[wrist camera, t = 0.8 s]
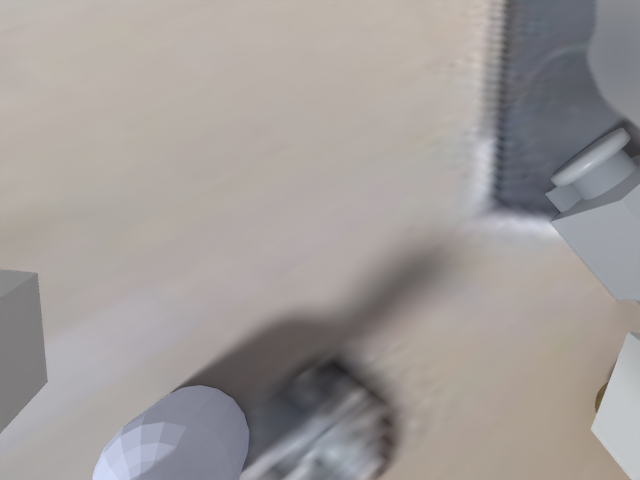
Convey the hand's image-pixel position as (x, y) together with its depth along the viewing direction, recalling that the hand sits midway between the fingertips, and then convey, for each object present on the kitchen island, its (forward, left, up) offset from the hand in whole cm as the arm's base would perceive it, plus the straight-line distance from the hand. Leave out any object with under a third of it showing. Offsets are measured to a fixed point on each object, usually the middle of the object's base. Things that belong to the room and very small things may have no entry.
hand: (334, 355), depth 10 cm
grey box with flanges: (-12, -28, -30) cm, 43 cm away
